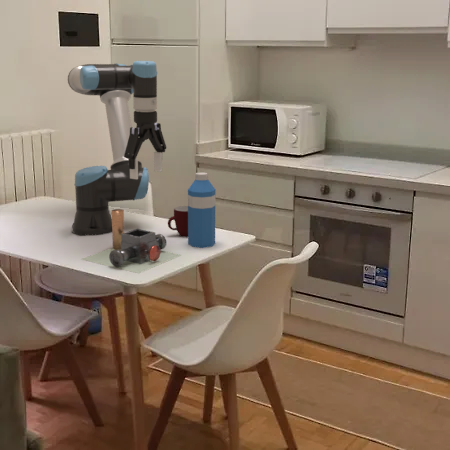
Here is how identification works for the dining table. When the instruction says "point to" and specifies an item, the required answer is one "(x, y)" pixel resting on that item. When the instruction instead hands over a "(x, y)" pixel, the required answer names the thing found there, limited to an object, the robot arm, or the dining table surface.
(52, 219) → the dining table surface
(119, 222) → the brown mallet handle
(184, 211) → the mug
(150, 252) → the metal mallet head
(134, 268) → the mat
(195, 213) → the water bottle
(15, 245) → the dining table surface
